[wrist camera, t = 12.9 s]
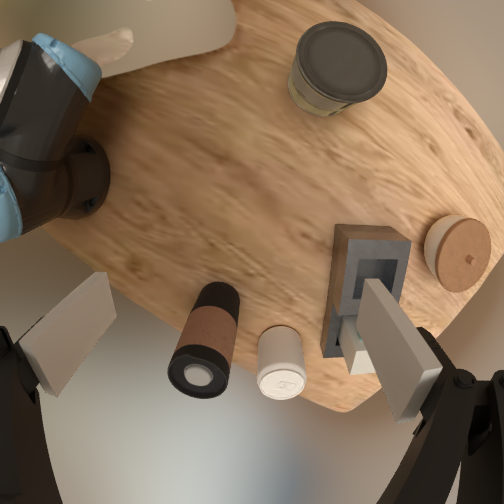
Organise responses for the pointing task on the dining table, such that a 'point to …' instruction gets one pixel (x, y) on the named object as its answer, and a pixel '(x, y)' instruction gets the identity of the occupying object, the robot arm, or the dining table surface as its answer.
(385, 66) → the coffee can
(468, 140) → the dining table surface
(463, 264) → the lidded bowl
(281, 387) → the beverage can
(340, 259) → the grey stepped socket block
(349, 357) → the plug
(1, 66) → the robot arm
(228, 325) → the travel mug
